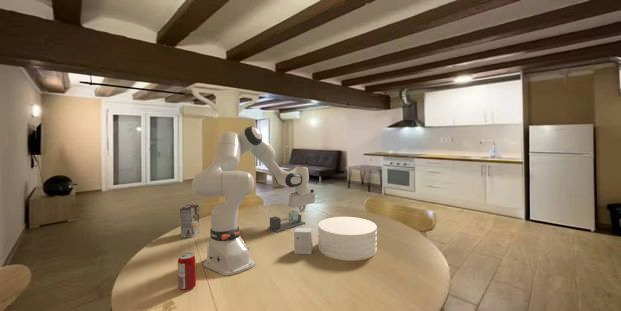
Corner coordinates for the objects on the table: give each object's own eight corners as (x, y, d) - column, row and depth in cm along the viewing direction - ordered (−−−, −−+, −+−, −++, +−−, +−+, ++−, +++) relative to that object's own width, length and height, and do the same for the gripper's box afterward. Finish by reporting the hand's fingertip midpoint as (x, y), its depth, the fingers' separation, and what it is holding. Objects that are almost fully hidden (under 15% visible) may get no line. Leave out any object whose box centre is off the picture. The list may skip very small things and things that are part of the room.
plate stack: (378, 263, 111) (378, 236, 111) (313, 258, 117) (313, 232, 116) (375, 239, 139) (375, 218, 138) (323, 236, 144) (322, 215, 144)
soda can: (198, 283, 96) (197, 251, 95) (192, 291, 90) (191, 257, 90) (182, 283, 96) (181, 251, 95) (175, 292, 90) (174, 258, 89)
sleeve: (298, 220, 164) (298, 212, 163) (293, 222, 161) (293, 213, 161) (293, 219, 167) (293, 210, 167) (288, 220, 164) (288, 211, 164)
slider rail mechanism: (305, 223, 165) (305, 212, 165) (276, 232, 150) (276, 220, 149) (296, 220, 171) (295, 210, 171) (267, 228, 156) (267, 217, 156)
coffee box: (188, 232, 151) (188, 204, 150) (199, 232, 151) (199, 204, 150) (180, 237, 142) (179, 208, 141) (192, 237, 142) (191, 208, 141)
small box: (312, 249, 125) (312, 228, 125) (311, 254, 120) (311, 232, 119) (296, 249, 126) (295, 227, 126) (294, 254, 121) (293, 231, 120)
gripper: (292, 193, 159) (292, 216, 160) (316, 189, 173) (316, 210, 174) (286, 192, 163) (286, 214, 164) (309, 188, 178) (310, 208, 178)
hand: (302, 212), depth 169 cm, fingers closed
